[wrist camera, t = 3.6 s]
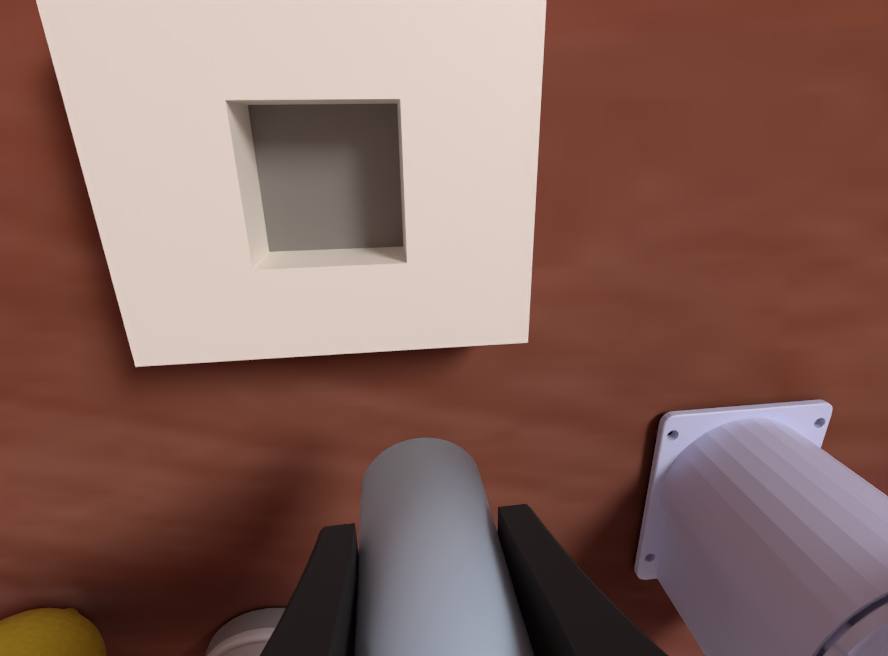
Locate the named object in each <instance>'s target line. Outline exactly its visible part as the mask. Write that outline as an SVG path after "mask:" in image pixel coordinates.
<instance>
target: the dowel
mask: <svg viewBox="0 0 888 656" xmlns="http://www.w3.org/2000/svg"><path fill="white" fill-rule="evenodd" d="M354 656H534V653H533V650H532V646H531V643H530V640H529V636H528V633H527V630H526V626H525V623H524V620H523V616H522V613H521V610H520V606H519V603H518V600H517V596H516V593H515V590H514V586H513V583H512V580H511V576H510V573H509V570H508V566H507V563H506V559H505V556H504V553H503V549H502V546H501V543H500V539H499V536H498V533H497V529H496V526H495V523H494V519H493V516H492V513H491V509H490V506H489V503H488V499H487V496H486V493H485V489H484V486H483V483H482V479H481V476H480V473H479V469H478V467H477V465H476V463H475V461H474V460H473V458H472V457H471V456H470V455H469V454H468V453H467V452H466V451H465V450H464V449H462V448H461V447H459V446H457V445H456V444H453V443H451V442H448V441H445V440H442V439H436V438H416V439H410V440H407V441H403V442H400V443H398V444H395V445H393V446H391V447H389V448H388V449H386V450H385V451H383V452H382V453H381V454H380V455H378V456H377V457H376V458H375V459H374V460H373V462H372V463H371V464H370V466H369V467H368V469H367V470H366V472H365V475H364V477H363V481H362V487H361V506H360V529H359V553H358V579H357V601H356V624H355V648H354Z"/></svg>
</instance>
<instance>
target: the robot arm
mask: <svg viewBox="0 0 888 656" xmlns="http://www.w3.org/2000/svg"><path fill="white" fill-rule="evenodd" d="M831 414H832V406H831V405H830V404H829V403H827V402H825V401H824V400H808V401H795V402H783V403H770V404H758V405H745V406H733V407H720V408H708V409H695V410H683V411H671V412H668V413H666V414H664V415H663V416H662V418H661V419H660V422H659V428H658V433H657V439H656V445H655V451H654V457H653V462H652V468H651V474H650V480H649V486H648V491H647V497H646V503H645V509H644V515H643V520H642V526H641V532H640V538H639V544H638V549H637V555H636V561H635V567H634V571H635V573H636V575H637V576H638V578H640V579H642V580H648V579H658V581H659V582H660V584H661V586H662V587H663V589H664V590H665V592H666V594H667V595H668V597H669V598H670V600H671V602H672V603H673V605H674V606H675V608H676V610H677V611H678V613H679V614H680V616H681V618H682V619H683V621H684V622H685V624H686V626H687V627H688V629H689V631H690V632H691V634H692V635H693V637H694V639H695V640H696V642H697V643H698V645H699V647H700V648H701V650H702V651H703V653H704V655H705V656H888V496H886V495H885V494H884V493H882V492H881V491H880V490H878V489H877V488H875V487H874V486H873V485H871V484H870V483H868V482H867V481H866V480H864V479H863V478H861V477H860V476H859V475H857V474H856V473H854V472H853V471H852V470H850V469H849V468H847V467H846V466H845V465H843V464H842V463H840V462H839V461H838V460H836V459H835V458H833V457H832V456H831V455H829V454H828V453H826V452H825V451H824V450H822V449H821V445H822V442H823V439H824V436H825V433H826V430H827V426H828V423H829V420H830V417H831ZM670 431H673V432H672V433H671V434H670V435H668V433H669V432H670ZM498 536H499V539H500V543H501V546H502V549H503V553H504V556H505V559H506V563H507V566H508V570H509V573H510V576H511V580H512V583H513V586H514V590H515V593H516V596H517V600H518V603H519V606H520V610H521V613H522V616H523V620H524V623H525V626H526V630H527V633H528V636H529V640H530V643H531V646H532V650H533V653H534V656H668V655H667V654H666V653H665V652H664V651H663V650H661V649H660V648H659V647H658V646H657V645H656V644H655V643H654V642H653V641H652V640H650V639H649V638H648V637H647V636H646V635H645V634H644V633H643V632H642V631H641V630H640V629H639V628H638V627H637V626H636V625H635V624H634V623H633V622H631V621H630V620H629V619H628V618H627V617H626V616H625V615H624V614H623V613H622V612H621V611H620V610H619V609H618V608H617V607H616V606H615V605H614V604H613V603H612V602H611V601H610V599H609V598H608V597H607V596H606V595H605V594H604V593H603V592H602V591H601V590H600V589H599V588H598V587H597V586H596V585H595V584H594V582H593V581H592V580H591V579H590V578H589V577H588V576H587V575H586V574H585V573H584V572H583V570H582V569H581V568H580V567H579V566H578V565H577V564H576V563H575V562H574V560H573V559H572V558H571V557H570V556H569V555H568V553H567V552H566V551H565V550H564V549H563V548H562V546H561V545H560V544H559V543H558V542H557V540H556V539H555V538H554V537H553V536H552V534H551V533H550V532H549V531H548V529H547V528H546V527H545V526H544V524H543V523H542V522H541V521H540V519H539V518H538V517H537V515H536V514H535V513H534V512H533V510H532V509H531V508H530V507H529V506H528V505H527V504H521V505H513V506H504V507H498ZM357 579H358V547H357V538H356V530H355V523H352V524H344V525H335V526H326V527H324V528H323V529H322V530H321V531H320V533H319V536H318V538H317V541H316V544H315V546H314V549H313V551H312V554H311V556H310V559H309V561H308V563H307V565H306V568H305V570H304V572H303V574H302V576H301V578H300V581H299V583H298V585H297V587H296V589H295V591H294V593H293V595H292V597H291V599H290V601H289V603H288V605H287V607H286V609H285V610H284V612H283V614H282V616H281V618H280V620H279V622H278V624H277V626H276V628H275V630H274V631H273V633H272V635H271V637H270V638H269V640H268V642H267V644H266V645H265V647H264V649H263V651H262V652H261V654H260V656H354V648H355V624H356V601H357Z"/></svg>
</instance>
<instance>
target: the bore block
mask: <svg viewBox="0 0 888 656" xmlns="http://www.w3.org/2000/svg"><path fill="white" fill-rule="evenodd" d="M36 2H37V6H38V9H39V13H40V17H41V20H42V24H43V28H44V32H45V35H46V39H47V43H48V46H49V50H50V54H51V57H52V61H53V65H54V68H55V72H56V76H57V79H58V83H59V87H60V90H61V94H62V98H63V102H64V105H65V109H66V113H67V116H68V120H69V124H70V127H71V131H72V135H73V138H74V142H75V146H76V149H77V153H78V157H79V161H80V164H81V168H82V172H83V175H84V179H85V183H86V186H87V190H88V194H89V197H90V201H91V205H92V208H93V212H94V216H95V219H96V223H97V227H98V231H99V234H100V238H101V242H102V245H103V249H104V253H105V256H106V260H107V264H108V267H109V271H110V275H111V278H112V282H113V286H114V289H115V293H116V297H117V301H118V304H119V308H120V312H121V315H122V319H123V323H124V326H125V330H126V334H127V337H128V341H129V345H130V348H131V352H132V356H133V360H134V363H135V367H142V366H158V365H174V364H190V363H206V362H222V361H238V360H254V359H271V358H287V357H303V356H319V355H335V354H351V353H367V352H384V351H400V350H416V349H432V348H448V347H464V346H480V345H496V344H513V343H528V332H529V313H530V295H531V276H532V258H533V239H534V220H535V202H536V183H537V165H538V146H539V128H540V109H541V91H542V72H543V53H544V35H545V16H546V0H36Z"/></svg>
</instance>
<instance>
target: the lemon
mask: <svg viewBox="0 0 888 656" xmlns="http://www.w3.org/2000/svg"><path fill="white" fill-rule="evenodd" d="M0 656H106V647H105V644H104V640H103V638H102V636H101V634H100V632H99V631H98V629H97V627H96V626H95V625H94V624H93V623H92V622H91V621H90V620H88V619H87V618H85V617H84V616H82V615H81V614H79V612H78V611H77V610H76V609H74V608H66V609H62V608H40V609H33V610H28V611H24V612H21V613H18V614H15V615H12V616H10V617H7V618H5V619H3V620H1V621H0Z"/></svg>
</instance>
